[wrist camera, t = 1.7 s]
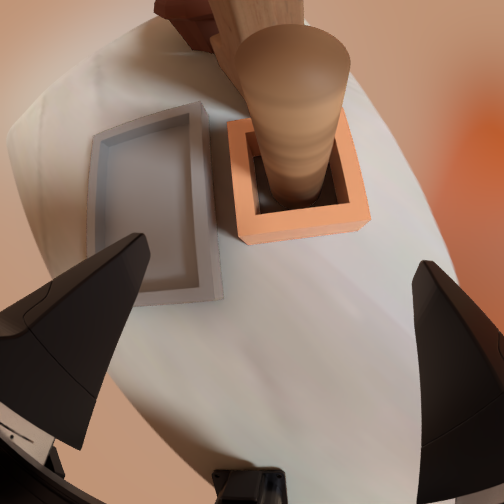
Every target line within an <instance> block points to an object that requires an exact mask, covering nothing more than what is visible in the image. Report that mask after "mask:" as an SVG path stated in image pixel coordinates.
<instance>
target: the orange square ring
mask: <svg viewBox="0 0 504 504" xmlns="http://www.w3.org/2000/svg"><path fill="white" fill-rule="evenodd" d="M227 129H228V139H229V150H230V160H231V170H232V181H233V190H234V200H235V210H236V220H237V229H238V237H239V238H240V239H242V240H243V241H244V242H245V243H246V244H247V245H254V244H261V243H269V242H277V241H284V240H292V239H300V238H307V237H315V236H323V235H331V234H339V233H346V232H354V231H358V230H360V229H361V228H362V227H363V226H364V225H365V224H367V223H368V222H369V221H370V220H371V216H370V211H369V206H368V201H367V196H366V192H365V187H364V183H363V178H362V174H361V170H360V166H359V162H358V158H357V154H356V150H355V146H354V143H353V139H352V136H351V132H350V129H349V125H348V122H347V119H346V116H345V112H344V109H343V107H342V108H341V112H340V116H339V121H338V125H337V129H336V133H335V138H334V142H333V146H332V150H331V154H330V158H329V163H330V168H331V173H332V177H333V182H334V187H335V192H336V197H337V203H338V205H329V206H321V207H313V208H305V209H297V210H289V211H282V212H274V213H267V214H260V206H259V198H258V190H257V182H256V174H255V166H254V159H253V156H259V155H261V153H260V149H259V145H258V142H257V138H256V134H255V131H254V127H253V124H252V120H251V118H246V119H240V120H235V121H229V122H227Z"/></svg>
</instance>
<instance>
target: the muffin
mask: <svg viewBox="0 0 504 504" xmlns="http://www.w3.org/2000/svg"><path fill="white" fill-rule="evenodd" d="M154 13H155V14H157V15H159V16H161V17H162V18H164V19H168V20H169V21H170V22H171V23H172V24H173V26H174V27H175V28H176V29H177V31H178V32H179V33H180V34H181V36H182V37H183V38H184V40H185V41H186V42H187V43H188V45H189V46H190V47H191V49H192V50H199V51H205V52H209V53H212V54H213V53H214V50H213V48H212V45H211V43H210V37H211V36H213V35H216V34H218V33H219V30H218V27H217V24H216V21H215V18H214V15H213V13H212V10H211V7H210V4H209V1H208V0H156V1H155V3H154Z"/></svg>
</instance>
